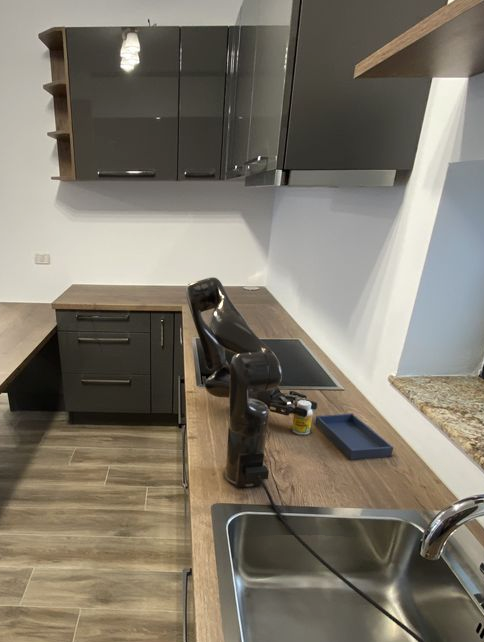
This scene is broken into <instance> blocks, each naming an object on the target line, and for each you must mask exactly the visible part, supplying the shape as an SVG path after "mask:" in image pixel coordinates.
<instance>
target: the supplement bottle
mask: <svg viewBox="0 0 484 642" xmlns="http://www.w3.org/2000/svg"><path fill="white" fill-rule="evenodd" d="M306 400H307V399H306ZM306 400H300V401H298V403H297V407H300V408H303V409H307V410H308V413H307V416H306V417H303V416H300V415H297V414H293V416H292V417H293V418H292V426H291V431H292V432H293V433H295V434H297V435H300V436H304V435H309V434H310V433H311V429H312V428H311V427H312V420H313V411H314V410H313V409H311V402H309V401H306Z"/></svg>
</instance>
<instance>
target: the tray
mask: <svg viewBox="0 0 484 642" xmlns="http://www.w3.org/2000/svg"><path fill="white" fill-rule="evenodd" d="M314 425H315V426H316V428H318V429H319V430H320V431H321V432H322V433H323V434H324V435H325V436H326V437H327V438H328V439H329V440H330V441H331V442H332V443H333V444H334V445H335V446H336V447H337V448H338V449H339V450H340V451H341V452H342V453H343V454H344V455H345V456H346V457H347V458H348V459H349V461H350V460H351V461H352V460H353V461H355V460H364V459H375V458H387V457H389V458H390V457H392V455H393V451H394V446H393V445H392V444H390V443H389V442H388V441H387V440H385V439H384V438H383V437H382V436H380V435H379V434H378V433H377V432H375V431H374V430H373V429H372V428H371V427H369V426H368V425H367V424H366V423H365V422H363V421H362V420H361V419H360V418H359V417H358V416H356V415H355V414H354V413H342V414H341V413H340V414H327V415H316V417H315V422H314Z"/></svg>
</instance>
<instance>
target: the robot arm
mask: <svg viewBox="0 0 484 642" xmlns="http://www.w3.org/2000/svg"><path fill="white" fill-rule="evenodd" d="M185 295H186V299H187V300H186V301H187V304H188V308H189V311H190V314H191V317H192V321H193V324H194V326H195V329H196V333H197V335H198V339H199V341H200V346H201V349H202V355H203V359H204V363H205V367H206V368H207V370H209V371H212V372H213V373H212V374H211V375H210V376H209V377H208V378H206V380H205V382H204V389H205V390H206V391H207V393H208V394H210V395H211V396H213V397H216V398H225V399H226V398H227V399H228V400H229V401H228V403H229V413H228V414H229V418H228V431H227V445H226V446H227V447H226V459H225V471H224V476H225V479H226V480H227V481H228V482H229V483H231V484H233V485H234V486H236V488H238V489H239V488H251V487H260V486H262V488H263V489H264V491H265V494H266V496H267V498H268V501H269V502H270V505H271V507H272V509H273V510H274V512H275V513H276V514H277V516H278V518H279V519H280V521H281V522H282V523H283V525H284V526H285V527H286V529H287V530H288V531H289V532H290V533H291V534H292V536H294V538H295V539H296V540H297V541H298V542H299V543H300V544H301V545H302V546H303V547H304V548H305V549H306V550H307V551H308V552H309V553H310V554H311V555H312V556H313V557H314V558H315V559H317V560H318V561H319V562H320V563H321V564H322V565H323V566H324V567H326V568H327V569H328V570H329V571H330V572H331V573H333V575H335V576H336V577H337V578H339V580H341V581H342V582H343V583H344V584H345V585H347V586H348V587H349V588H351V590H353V591H354V592H356V594H358V595H359V596H361V597H362V598H363V599H364V600H366V601H367V602H368V603H369V604H371V605H372V606H373V607H374V608H375V609H377V610H378V611H379V612H380V613H382V614H383V615H384V616H385V617H387V618H388V619H389V620H391V621H392V622H393V623H394V624H396V625H397V626H398V627H400V628H401V629H402V630H403V631H405V632H406V633H407V634H408V635H410V636H411V637H412V638H413V639H415V640H416V641H417V642H426V641H425V640H424V639H422V638H421V637H420V636H419V635H418V634H416V632H414V631H413V630H412V629H410V628H409V627H408V626H407V625H405V624H404V623H403V622H402V621H400V620H399V619H398V618H397V617H395V616H393V615H392V614H391V613H390V612H389V611H387V610H386V609H385V608H384V607H382V606H381V605H379V604H378V603H377V601H375V600H373V598H371V597H370V596H368V595H367V594H366V593H364V592H363V591H362V590H361V589H360V588H358V587H357V586H355V584H353V583H352V582H351V581H349V580H348V579H347V578H346V577H345V576H343V575H342V574H341V573H340V572H338V571H337V570H336V569H335V568H334V567H332V566H331V565H330V564H329V563H327V561H325V560H324V559H323V558H322V557H321V556H320V555H319V554H318V553H316V552H315V550H313V549H312V547H310V546H309V544H307V543H306V542H305V541H304V540H303V539H302V538H301V537H300V536H299V535H298V534H297V533H296V532H295V530H294V529H293V528H292V527H291V525H289V523H288V522H287V521H286V519H285V518H284V516H283V515H282V513H281V512H280V510H279V509H278V508H277V506H276V503H275V502H274V500H273V498H272V495H271V493H270V491H269V489H268V486H267V485H266V484H265V482H264V480H269V474H270V470H269V469H268V467H267V466H266V465H265V464H264V460H265V453H266V442H267V433H268V424H269V417H270V415H269V414H270V413H274V414H279V415H282V416H286V417H289V416H290V415H294V414H297V415H300V416H303V417H306V416H307V413H308V410H307V409H303V408H300V407H297V403H298V401H300V400H306V401H309V402H311V409H312V410H313V411H314V410H317V409H318V402H317V401H314V400H310V399H307V396H308V395H306V394H303V393H301V392H297V391H294V390H289V393H287V392H286V393H285V392H282V391H281V389H280V388H279V386H280V384H281V382H282V379H283V371H282V366H281V363H280V361H279V359H278V357H277V355H276V354H275V353H274V352H273V351H272V350H271V348H269V347H268V346H267V344H266V343H264V342H263V341H262V340H261V339H260V338H259V336H258V335H257V334H256V332H254V330H253V329H252V328H251V326H250V325H249V324H248V322H247V320H246V318H244V316H243V314H241V312H240V311H239V310H238V308H237V307H236V306H235V304H234V303H233V302H232V300H231V298H230V297H229V294H228V292H227V291H226V288H225V287H224V285H223V284H222V281H220V280H219V279H218V278H217V277H207V278H203V279H200V280H197V281H196V280H195V281H193V282H191V283H188V284H187V286H186V288H185ZM210 310H213V311H212V312H211V316H210V318H209V324H208V323H207V322H206V320H205V319H204V316H203V312H207V311H210ZM226 351H228V352H230V353H232V354H233V356H232V357H231V360H230V364H229V363H228V360H227V357H226Z"/></svg>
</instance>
